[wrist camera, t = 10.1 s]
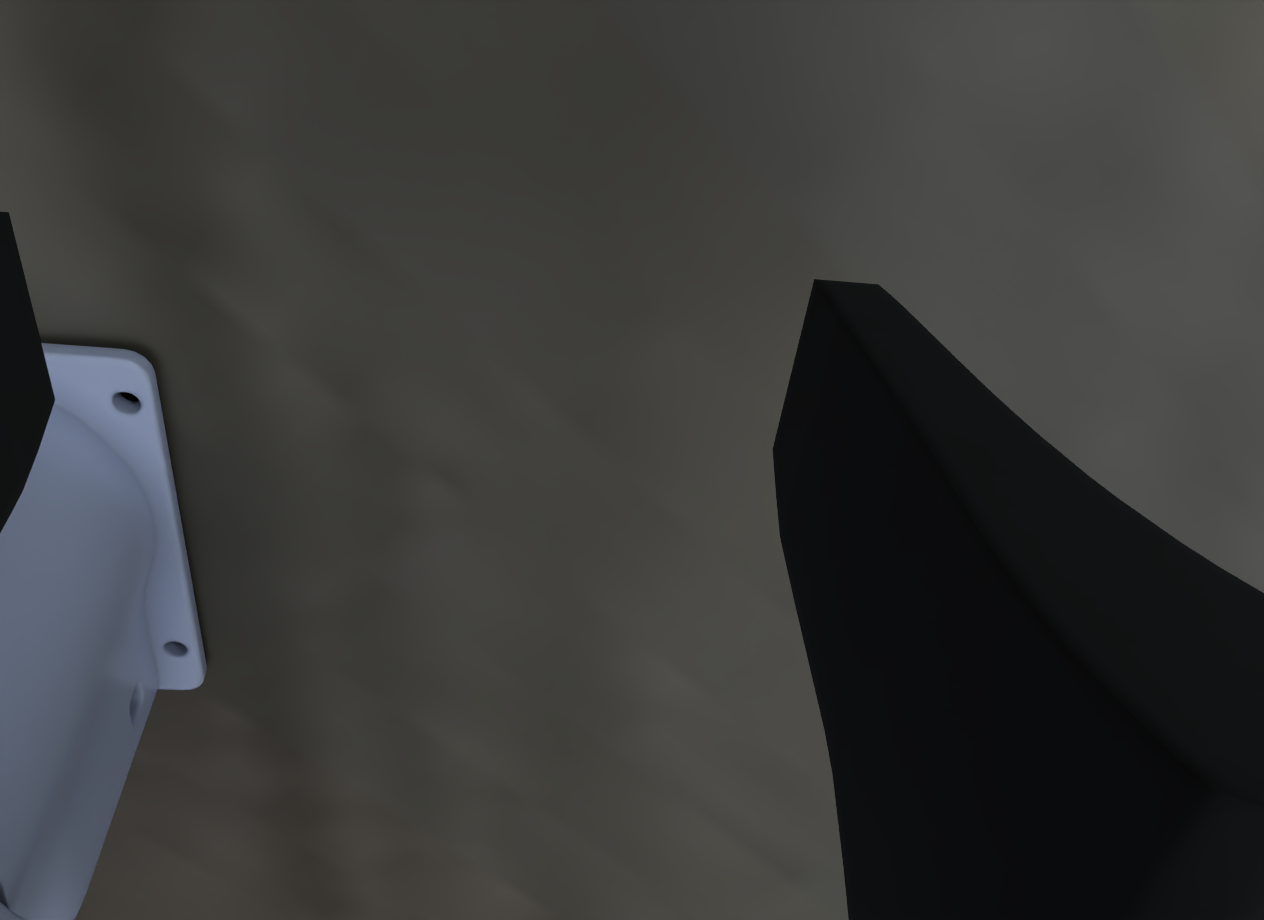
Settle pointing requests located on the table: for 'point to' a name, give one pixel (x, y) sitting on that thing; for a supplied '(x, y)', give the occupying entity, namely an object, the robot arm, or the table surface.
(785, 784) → the table surface
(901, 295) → the table surface
